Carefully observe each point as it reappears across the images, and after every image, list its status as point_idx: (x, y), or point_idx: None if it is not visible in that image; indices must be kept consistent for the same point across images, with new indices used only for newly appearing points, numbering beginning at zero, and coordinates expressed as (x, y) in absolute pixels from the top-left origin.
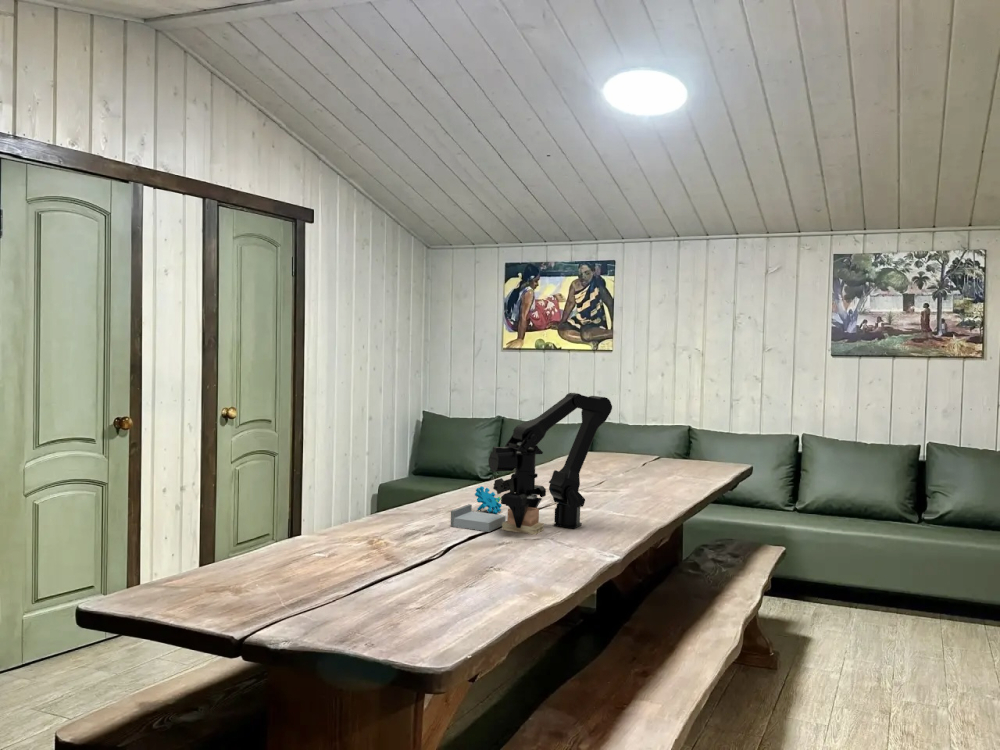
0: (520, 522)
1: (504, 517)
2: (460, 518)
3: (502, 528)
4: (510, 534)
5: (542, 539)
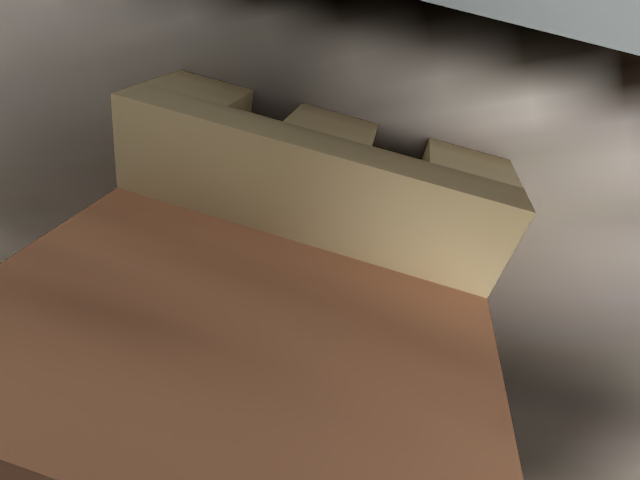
0: None
1: (614, 46)
2: None
3: (167, 79)
4: (34, 211)
5: None
